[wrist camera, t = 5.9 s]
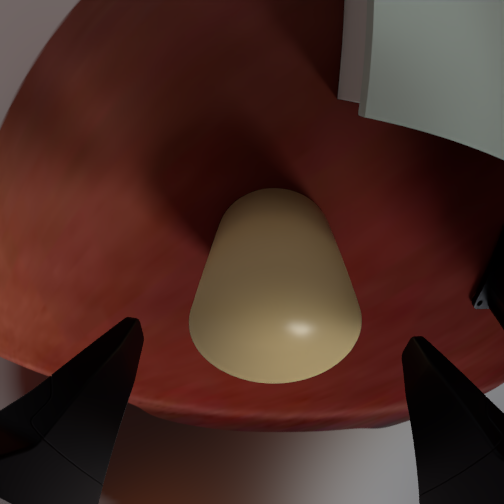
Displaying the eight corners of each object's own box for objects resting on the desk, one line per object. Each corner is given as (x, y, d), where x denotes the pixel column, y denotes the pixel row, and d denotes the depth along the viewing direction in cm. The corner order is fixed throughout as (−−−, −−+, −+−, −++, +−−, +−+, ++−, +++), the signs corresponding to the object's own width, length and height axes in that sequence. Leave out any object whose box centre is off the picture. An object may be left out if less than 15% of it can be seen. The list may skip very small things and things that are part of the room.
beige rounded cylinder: (319, 291, 16) (336, 384, 10) (217, 283, 16) (195, 376, 11) (340, 194, 13) (384, 269, 8) (217, 183, 13) (182, 254, 8)
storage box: (504, 149, 10) (560, 178, 7) (337, 98, 11) (373, 103, 7) (509, -5, 5) (561, -10, 1) (344, -81, 5) (368, -127, 2)
